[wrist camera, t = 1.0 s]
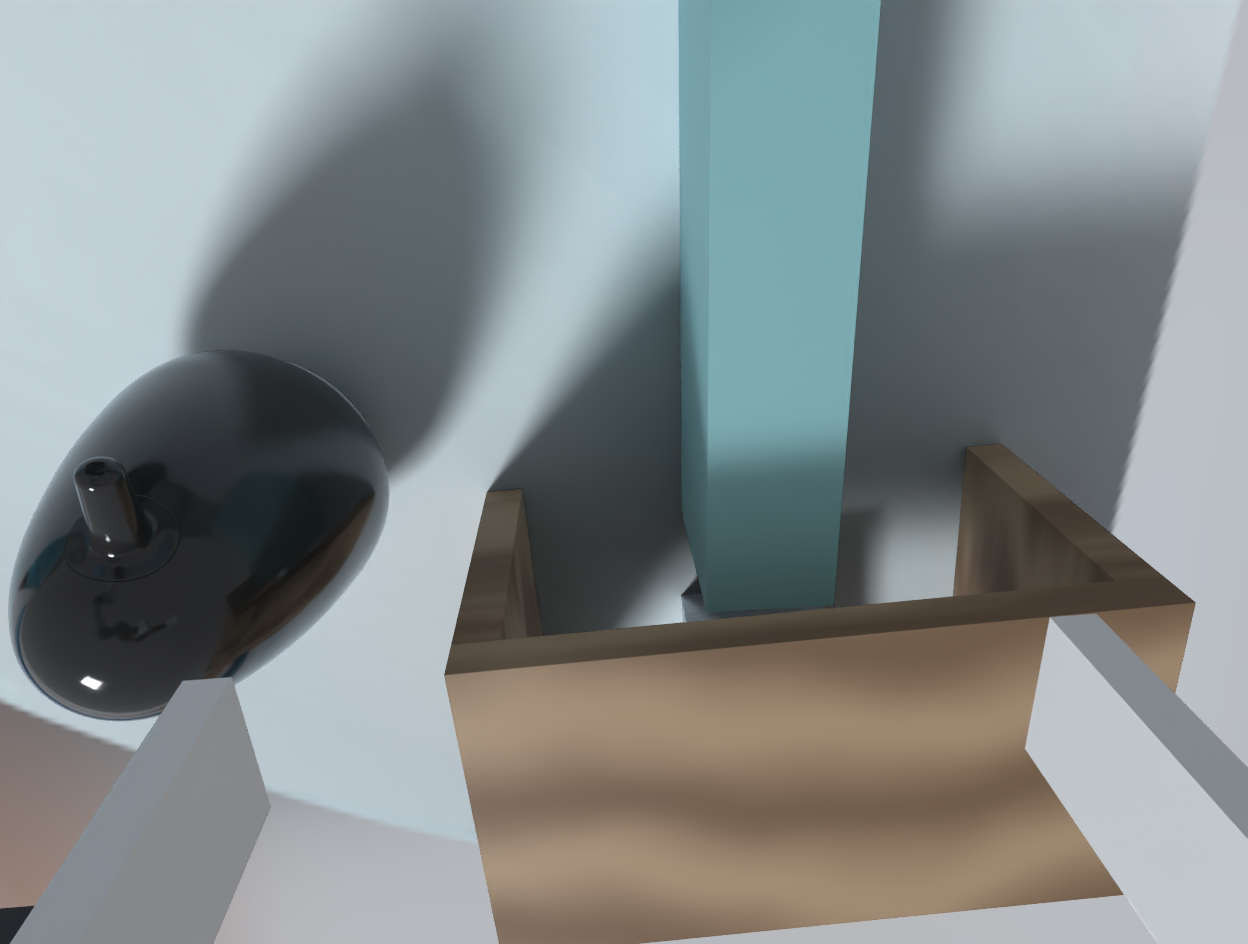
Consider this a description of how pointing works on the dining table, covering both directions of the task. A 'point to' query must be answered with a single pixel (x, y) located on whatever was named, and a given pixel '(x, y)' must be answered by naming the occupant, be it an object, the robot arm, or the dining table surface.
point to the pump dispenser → (194, 533)
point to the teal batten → (770, 286)
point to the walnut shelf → (789, 738)
